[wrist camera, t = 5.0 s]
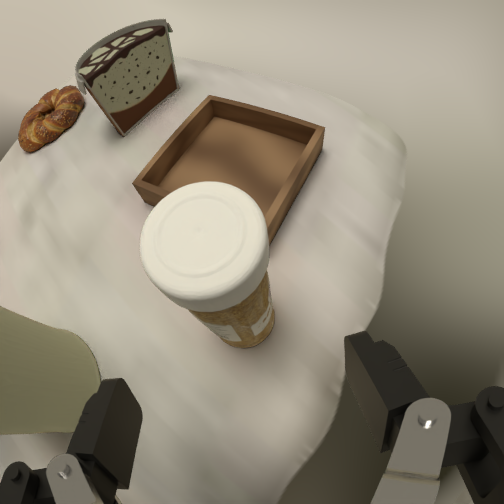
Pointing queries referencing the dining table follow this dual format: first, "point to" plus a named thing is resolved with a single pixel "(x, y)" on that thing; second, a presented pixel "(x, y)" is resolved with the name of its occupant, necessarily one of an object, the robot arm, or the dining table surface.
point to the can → (42, 376)
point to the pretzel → (50, 117)
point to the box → (237, 156)
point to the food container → (130, 72)
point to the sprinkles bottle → (212, 259)
